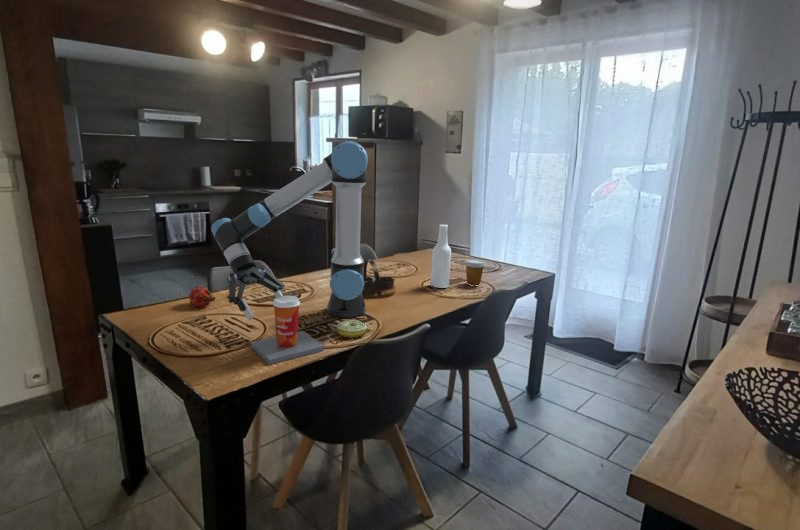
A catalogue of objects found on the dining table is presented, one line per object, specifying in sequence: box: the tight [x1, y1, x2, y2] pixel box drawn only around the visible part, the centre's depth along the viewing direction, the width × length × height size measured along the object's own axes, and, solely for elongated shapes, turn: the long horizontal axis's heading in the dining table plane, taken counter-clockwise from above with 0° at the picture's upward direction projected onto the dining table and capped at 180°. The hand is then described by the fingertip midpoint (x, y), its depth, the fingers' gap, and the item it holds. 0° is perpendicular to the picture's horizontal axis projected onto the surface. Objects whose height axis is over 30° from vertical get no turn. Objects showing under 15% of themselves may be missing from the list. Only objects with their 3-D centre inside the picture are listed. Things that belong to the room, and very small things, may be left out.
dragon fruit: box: [188, 285, 216, 309], centre depth 178 cm, size 8×8×12 cm
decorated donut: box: [335, 319, 368, 339], centre depth 158 cm, size 10×11×4 cm
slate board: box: [250, 330, 325, 365], centre depth 144 cm, size 18×15×2 cm
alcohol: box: [430, 224, 452, 289], centre depth 215 cm, size 9×9×30 cm
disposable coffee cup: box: [464, 258, 486, 285], centre depth 223 cm, size 10×10×12 cm
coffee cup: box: [272, 295, 301, 348], centre depth 142 cm, size 8×8×15 cm
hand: (269, 313), depth 147 cm, fingers open, 13 cm apart
